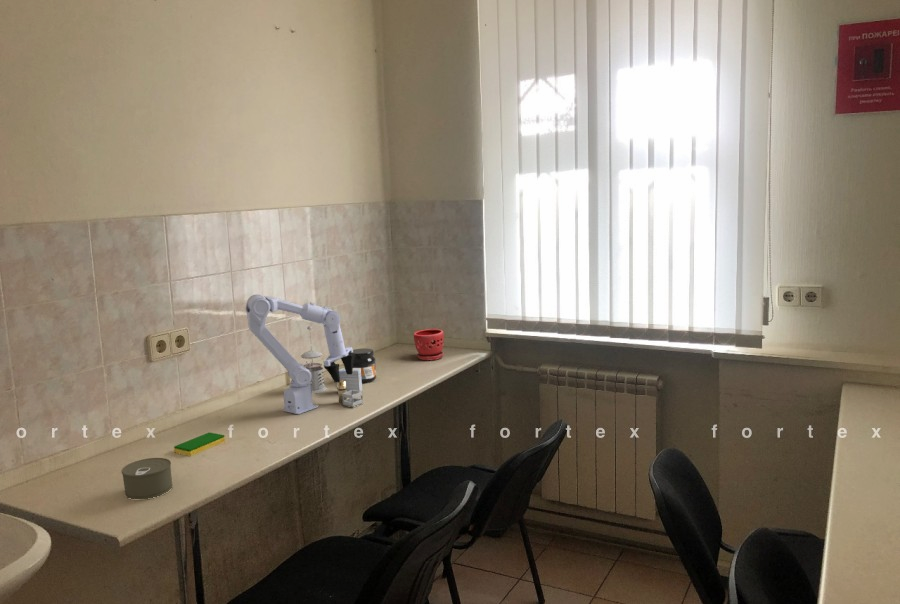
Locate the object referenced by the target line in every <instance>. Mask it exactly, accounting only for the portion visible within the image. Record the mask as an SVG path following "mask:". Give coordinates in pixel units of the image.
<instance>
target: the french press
mask: <svg viewBox="0 0 900 604" xmlns="http://www.w3.org/2000/svg"><path fill="white" fill-rule="evenodd" d="M306 328H307V330H313V326H311V325H309V326H307V327H306ZM311 334H312V333H309V339H310V343H312V337H311ZM322 355H323V353H322V352H320V351H318V350H312V347H310V350H307V351H305V352H304V353H302V354H301V355H300V358H302V359H306V361H305V364H303V365H304V366H305V368H306V369H308V370H309V371H310V372H311V374H312V379H311V390H312V394H319V392H320V393H323V392H326V391H327V390H328V388H327V387H326V386H325V377H324V376H325V375H324V367H322V365H323V363H320V362H313V359H316V358H317V359H318V358H320V357H322ZM307 359H308V360H311V361H310V363H308V361H307ZM325 390H326V391H325Z"/></svg>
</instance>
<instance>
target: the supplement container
mask: <svg viewBox="0 0 900 604" xmlns="http://www.w3.org/2000/svg"><path fill="white" fill-rule="evenodd" d="M351 354H355V357H354V361H353V368H361V380H362V384H368V383H371V382H374V381H376V379H377V367H376V366H377V365H376V357H375V356H374V355H375V351H374V349H372V348H369V347H368V348H365V347H364V348H362V347H361V348H354V349H353V352H352V353H351ZM367 382H368V383H367Z"/></svg>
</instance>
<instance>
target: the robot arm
mask: <svg viewBox="0 0 900 604" xmlns="http://www.w3.org/2000/svg"><path fill="white" fill-rule="evenodd" d="M278 310H279V311H285V312H288V313H293V314H296V315H299V316H300V317H301V319H302V320H305V321H309V322H313V323H316V324H323V329H324V330H323V331H324V335H325V339H326V344H327V348H328V352H329V356H328V357H326V359H324V360H323V369H325V371H327V372H328V374H329V375H330V376H331V378H332V381H333V382H334V383H337V384H338V383H339V382H340V376H339V370H340V363H336V362H337V361H339V360H341V362H342V364H343V367H344V368H345V370H346V373H347V374H352V373H353V361H354V357H355V354H351V353H352V352H353V350H354V349H353V347H352V346H348V347H346V346H345V341H344V337H343V333H342V329H341V325H340V322H341V316H340V315H339V313H338V312H337V311H335V310H333V309H331V308H329V307H327V306H319V305H316V304H315V302H309V303H308V302H307V303H305V304H297V303H294V302H291V301H288V300H285V299H281V298H277V297H273V296H268V295H263V296H262V295H260V294H256V293H255V294H252V295H250V296H249V298H248V299H247V301H246V306H245V312H246V320H247V325H248V329H249V330H250V332H251V333H252V334H253V335H254V336H255V337H256V338H257V339H258V340H259V341H260V343H262V345H263V346H264V347H265V348H266V349H267V350H268V352H270V353H271V354H272V356H273V357H274V358H275V359H276V360H277V361H278V362H279V363H280V364H281V365H282V366H283V368H284V369H285V370H286V371H287V374H288V376H289V378H290V380H291V381H290V383H289V386H288V387H287V388H285V389H284V391H283V406H284V409H283V412H286V413H291V414H295V415H300V414H304V413H306V412H309V411H311V410H314V409H317V408H319V406H318V405H316V404H313V393H312V390H311V383H312V382H311V379H312V374H311V372H310V371H309V370H308V369H306V368H305V366H304V365H305V364H303V363H300V362H298V361H297V360H296V359H295V358H294V357H293V356H292V354H291V353H290V352H289V351H288V350H287V349H286V348H285V346H284V345H282V343H281V342H280V341H279V340H278V339H277V338H276V337H275V336H274V335H273V334H272V332H271V331H270V330H269V329H268V327H266V326H265V325H266V319H267V317H268V315H269V313H270V312H271V313H274V312H276V311H278Z"/></svg>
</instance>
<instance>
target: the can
mask: <svg viewBox="0 0 900 604" xmlns="http://www.w3.org/2000/svg"><path fill="white" fill-rule="evenodd" d="M171 465H172V463H171V460H170V459H168V458H164V457H150V458H144V459H139V460H136V461H133V462H131V463H128V464H126V465H125V466H124V467H122V469H121V474H122V479H123V487H124V495H126V496H127V497H128V498H131V499H147V500H149V499H148V498H153V497H156V498H158V497H157V496H159V497H161V496H160V495H162V494H164V493H166V492H168V491H169V490H170V489H171V488H172V489H173V487H174V486H173V478H172V467H171ZM172 486H173V487H172ZM172 489H171V490H172ZM169 492H170V491H169ZM169 492H168V493H169ZM166 494H167V493H166ZM164 495H165V494H164ZM126 496H125V497H126ZM162 496H163V495H162ZM128 498H127V499H128ZM131 499H130V500H131ZM153 499H154V498H153Z"/></svg>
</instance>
